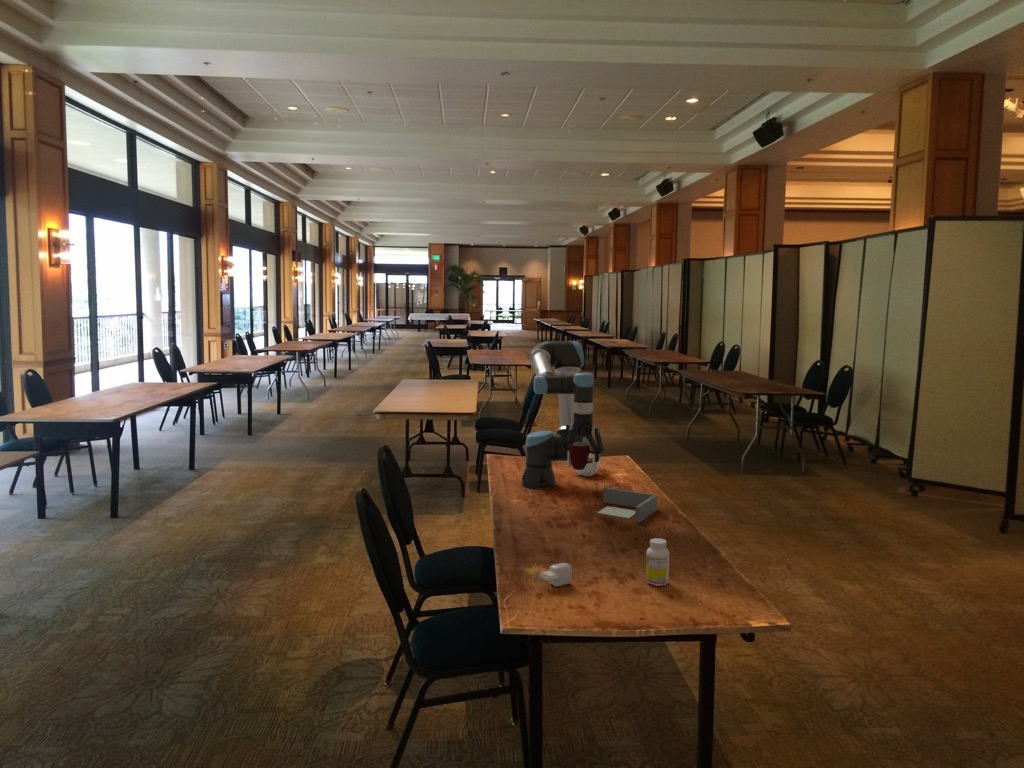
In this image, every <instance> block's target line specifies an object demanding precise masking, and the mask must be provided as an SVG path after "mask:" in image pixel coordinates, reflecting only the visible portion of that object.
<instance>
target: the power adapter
mask: <svg viewBox="0 0 1024 768" xmlns="http://www.w3.org/2000/svg"><path fill="white" fill-rule="evenodd" d="M572 570H573V569H572V566H571V565H570V564H569V563H567V562H560V563H554V564H552V565H550V566H549V570H545V571H541V573H540V574H539V575H534V579H538V578H539V582H543V581H547V582H549V584H550V583H551V584H553V585H554V586H553V585H552V586H553V587H555V586H560V585H564V584H568V583H570V584H572V577H573V575H572V574H573V573H572V572H573V571H572ZM551 584H550V585H551Z"/></svg>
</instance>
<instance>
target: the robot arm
mask: <svg viewBox="0 0 1024 768" xmlns="http://www.w3.org/2000/svg"><path fill="white" fill-rule="evenodd" d="M528 362H529V365H530V366H531V367H532V368H533V370H534V374H535V375H534V377H533V392H534V394H537V395H558V404H559V408H558V409H559V428H557V430H556V434H554V433H553V431H551V430H538V431H533V432H531V433H528V434H527V435H526V439H525V468H524V471H523V474H522V477H521V483H522V484H521V486H523V485H524V486H523V487H525V486H526V487H525V488H528V487H530V488H529V489H536V488H544V489H551V488H553V487H555V486H557V480H556V476H555V472H554V469H553V462H566V463H567V464H566V466H567V468H570V467H573V466H572V464H571V461H570V454H569V443H570V445H573V444H574V442H585V443H589V445H590V447H591V449H592V451H593V452H594V454H593V462H592V470H593V471H594V470H596V469H597V462H599V455H600V454H602V453H604V452H605V449H604V443H603V440H602V436H601V427H599V426H598V427H596V426H594V425H593V422H594V421H593V420H594V419H593V417H594V415H593V411H594V385H595V380H594V374H592V373H590V372H580V371H581V369H582V367H584V364H585V355H584V350H583V346H582V344H581V343H580V341H575V340H546V341H541V342H539V343H537V344H536V345H534V346H533V347H532V349H530V352H529V354H528ZM553 368H554V369H553ZM554 371H555V372H554ZM555 373H556V375H555ZM592 432H593V433H594V435H593V433H592ZM594 437H595V439H594Z"/></svg>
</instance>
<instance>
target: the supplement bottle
mask: <svg viewBox="0 0 1024 768" xmlns="http://www.w3.org/2000/svg"><path fill="white" fill-rule="evenodd" d="M649 545H650V546H649V547H648V548H647V550H646V555H645V582H646V581H647V582H648V583H651V584H656V585H662V584H666V583H668V584H669V581H670V551H669V549H668V548H667V540H666V539H663V538H655V537H654V538H650V540H649ZM647 582H646V583H647ZM648 583H647V584H648Z"/></svg>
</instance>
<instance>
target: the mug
mask: <svg viewBox="0 0 1024 768" xmlns="http://www.w3.org/2000/svg"><path fill="white" fill-rule="evenodd" d="M590 447H591V445H590V443H589V442H587V443H585V442H574V444H573V445H570V443H569V454H570V461H571V464H572V466H571V467H572V468H573V469H574V471H576V470H583V469H584V468H585V466H586V464H587V463H592V462H593V460H592V461H588V456H589V453H591V454H594V451H593V450H590Z"/></svg>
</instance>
